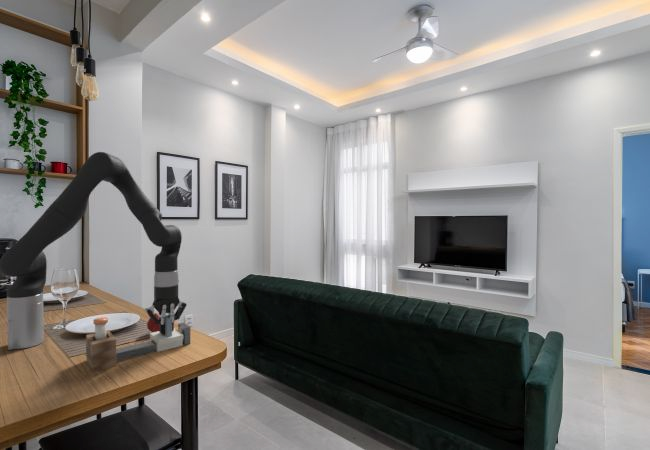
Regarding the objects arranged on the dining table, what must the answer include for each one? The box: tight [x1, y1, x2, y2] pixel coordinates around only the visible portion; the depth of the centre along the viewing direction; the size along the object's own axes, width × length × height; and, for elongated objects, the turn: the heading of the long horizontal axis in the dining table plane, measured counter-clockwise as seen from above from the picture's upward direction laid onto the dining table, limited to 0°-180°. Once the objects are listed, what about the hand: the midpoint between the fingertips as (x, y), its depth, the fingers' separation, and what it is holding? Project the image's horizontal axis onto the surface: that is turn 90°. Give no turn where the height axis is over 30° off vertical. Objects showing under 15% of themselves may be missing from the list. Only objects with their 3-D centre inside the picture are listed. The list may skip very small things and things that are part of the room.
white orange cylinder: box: [93, 317, 109, 340], centre depth 101 cm, size 4×4×8 cm
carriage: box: [149, 314, 183, 353], centre depth 115 cm, size 8×9×10 cm
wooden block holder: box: [85, 330, 117, 373], centre depth 102 cm, size 6×10×8 cm, turn 44°
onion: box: [146, 312, 159, 333], centre depth 126 cm, size 6×6×8 cm
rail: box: [116, 322, 191, 363], centre depth 112 cm, size 23×6×6 cm, turn 134°
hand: (166, 333), depth 115 cm, fingers closed on carriage
